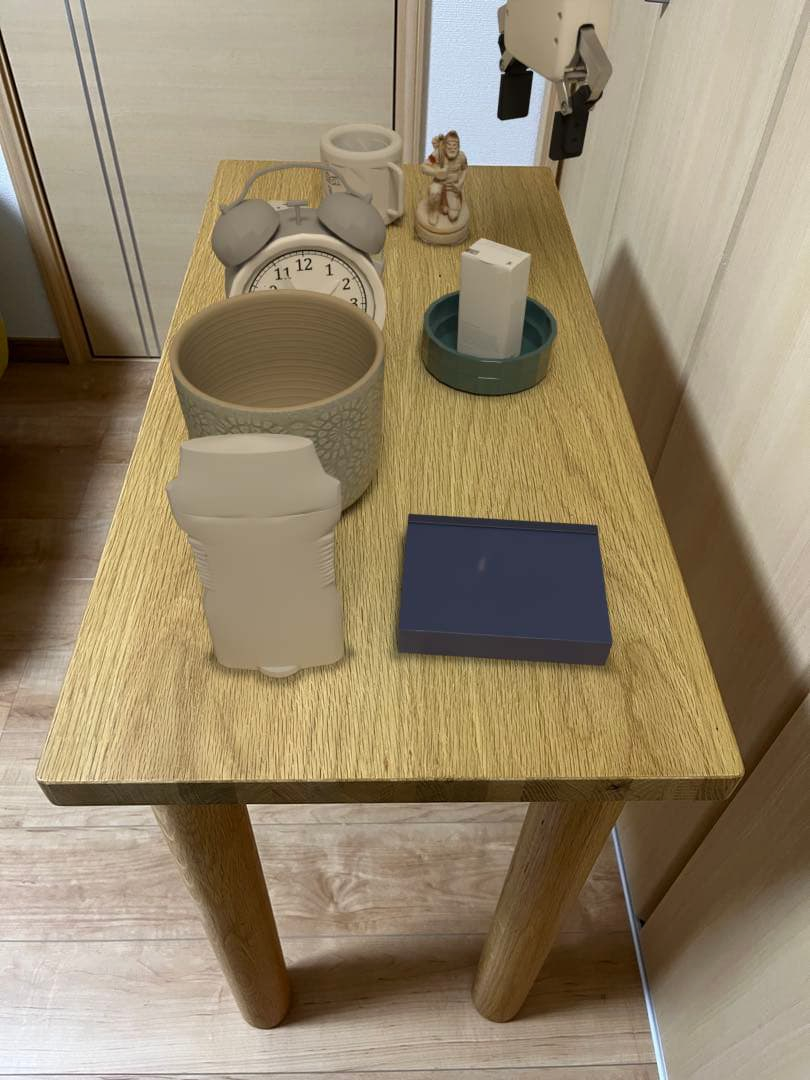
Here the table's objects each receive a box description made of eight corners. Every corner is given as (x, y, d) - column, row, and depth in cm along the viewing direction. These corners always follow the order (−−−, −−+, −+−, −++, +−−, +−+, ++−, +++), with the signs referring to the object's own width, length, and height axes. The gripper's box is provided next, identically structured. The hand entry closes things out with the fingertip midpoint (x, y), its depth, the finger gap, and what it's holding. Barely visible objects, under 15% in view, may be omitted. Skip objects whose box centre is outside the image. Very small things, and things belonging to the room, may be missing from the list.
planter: (174, 461, 78) (139, 320, 67) (332, 407, 84) (325, 270, 73) (244, 580, 68) (217, 438, 57) (418, 509, 74) (424, 368, 63)
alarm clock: (235, 403, 84) (201, 191, 68) (230, 354, 90) (197, 149, 74) (392, 385, 87) (395, 177, 71) (377, 339, 93) (376, 137, 76)
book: (590, 549, 71) (597, 524, 69) (604, 666, 63) (613, 641, 61) (407, 538, 72) (408, 513, 70) (397, 652, 64) (398, 628, 61)
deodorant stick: (349, 631, 65) (337, 411, 49) (349, 675, 62) (337, 457, 46) (213, 636, 64) (156, 415, 48) (208, 680, 62) (145, 461, 45)
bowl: (547, 325, 95) (553, 290, 92) (554, 401, 86) (561, 365, 82) (425, 319, 96) (426, 284, 92) (418, 393, 86) (420, 357, 83)
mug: (307, 210, 114) (302, 135, 106) (366, 188, 119) (365, 115, 111) (371, 247, 107) (371, 169, 100) (431, 222, 112) (434, 146, 105)
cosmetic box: (521, 355, 90) (536, 252, 82) (500, 374, 88) (513, 270, 79) (473, 336, 93) (483, 234, 84) (452, 354, 90) (460, 251, 81)
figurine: (432, 262, 108) (444, 167, 95) (403, 225, 111) (410, 128, 97) (478, 242, 110) (495, 147, 97) (448, 207, 113) (461, 109, 99)
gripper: (674, -71, 60) (623, 168, 72) (553, -115, 70) (527, 99, 83) (586, -63, 57) (549, 181, 70) (474, -110, 68) (460, 109, 81)
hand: (537, 137), depth 76 cm, fingers open, 9 cm apart
